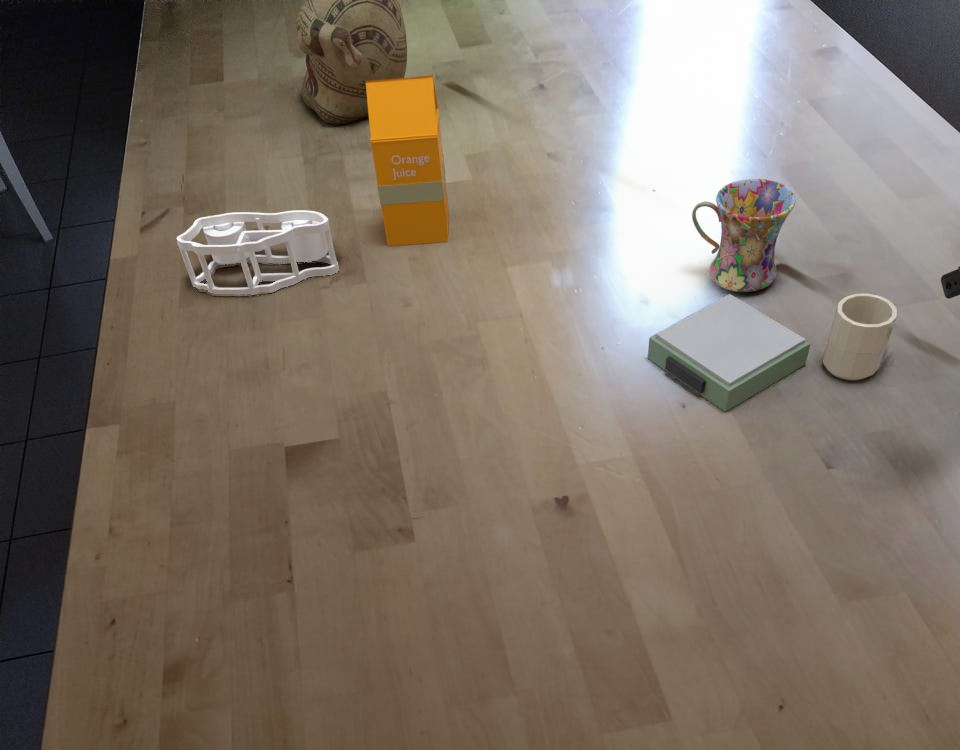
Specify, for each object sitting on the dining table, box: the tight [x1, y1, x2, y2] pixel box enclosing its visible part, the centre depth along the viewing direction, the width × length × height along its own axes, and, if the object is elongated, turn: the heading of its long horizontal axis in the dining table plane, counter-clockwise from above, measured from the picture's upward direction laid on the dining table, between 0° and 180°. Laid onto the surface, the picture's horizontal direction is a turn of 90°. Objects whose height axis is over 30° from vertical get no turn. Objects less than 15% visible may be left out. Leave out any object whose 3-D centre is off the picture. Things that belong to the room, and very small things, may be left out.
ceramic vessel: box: [295, 0, 408, 126], centre depth 142 cm, size 19×21×30 cm
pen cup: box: [822, 292, 898, 381], centre depth 101 cm, size 6×6×8 cm
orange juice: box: [366, 75, 450, 247], centre depth 121 cm, size 8×9×20 cm
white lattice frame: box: [176, 209, 340, 295], centre depth 122 cm, size 20×11×7 cm, turn 85°
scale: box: [647, 293, 812, 413], centre depth 105 cm, size 14×13×4 cm
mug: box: [691, 178, 797, 293], centre depth 112 cm, size 12×9×11 cm
